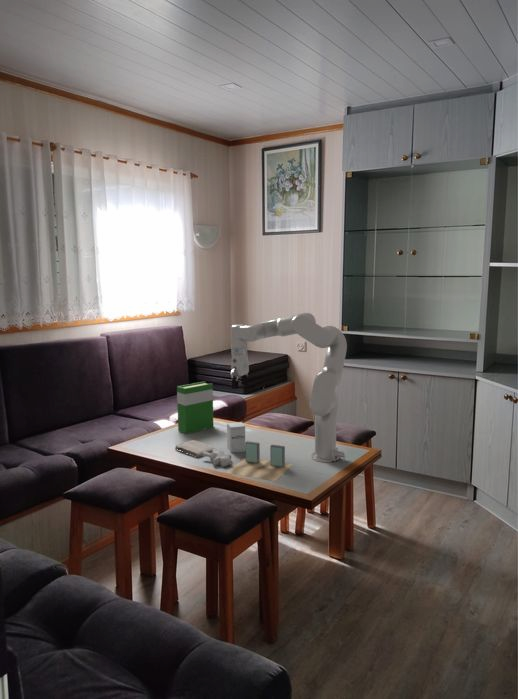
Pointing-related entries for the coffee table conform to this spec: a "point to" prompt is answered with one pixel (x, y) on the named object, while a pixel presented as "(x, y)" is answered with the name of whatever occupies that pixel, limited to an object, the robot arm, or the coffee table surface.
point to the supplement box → (236, 437)
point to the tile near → (277, 455)
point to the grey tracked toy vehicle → (194, 448)
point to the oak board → (258, 470)
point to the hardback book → (195, 407)
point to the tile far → (252, 452)
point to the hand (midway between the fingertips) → (240, 386)
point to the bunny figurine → (219, 458)
